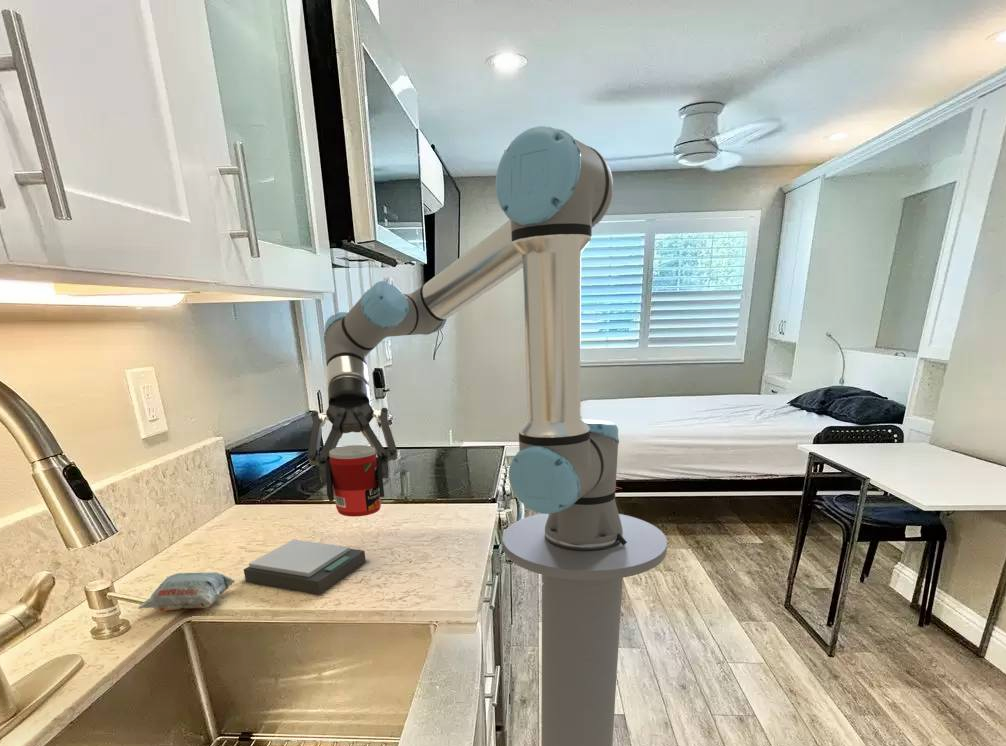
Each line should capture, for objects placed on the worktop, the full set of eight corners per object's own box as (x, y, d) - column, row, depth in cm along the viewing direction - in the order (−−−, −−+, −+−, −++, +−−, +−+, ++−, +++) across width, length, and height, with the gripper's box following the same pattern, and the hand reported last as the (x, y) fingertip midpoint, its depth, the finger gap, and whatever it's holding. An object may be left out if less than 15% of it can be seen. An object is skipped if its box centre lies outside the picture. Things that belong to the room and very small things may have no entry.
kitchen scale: (365, 562, 108) (364, 546, 107) (319, 594, 96) (317, 577, 95) (297, 552, 114) (294, 537, 112) (245, 581, 102) (242, 565, 100)
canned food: (377, 516, 99) (370, 454, 95) (331, 517, 99) (322, 455, 95) (385, 502, 106) (379, 444, 102) (342, 503, 106) (334, 445, 102)
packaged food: (215, 616, 90) (208, 588, 88) (140, 618, 90) (132, 590, 88) (238, 592, 98) (232, 565, 96) (169, 594, 98) (162, 567, 96)
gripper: (404, 397, 112) (417, 500, 103) (294, 403, 108) (297, 510, 100) (404, 372, 105) (416, 480, 96) (286, 377, 101) (288, 490, 93)
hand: (356, 495), depth 98 cm, fingers closed on canned food, 8 cm apart
